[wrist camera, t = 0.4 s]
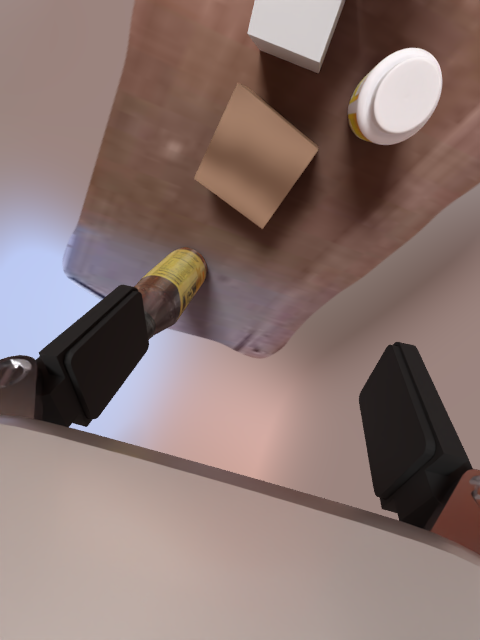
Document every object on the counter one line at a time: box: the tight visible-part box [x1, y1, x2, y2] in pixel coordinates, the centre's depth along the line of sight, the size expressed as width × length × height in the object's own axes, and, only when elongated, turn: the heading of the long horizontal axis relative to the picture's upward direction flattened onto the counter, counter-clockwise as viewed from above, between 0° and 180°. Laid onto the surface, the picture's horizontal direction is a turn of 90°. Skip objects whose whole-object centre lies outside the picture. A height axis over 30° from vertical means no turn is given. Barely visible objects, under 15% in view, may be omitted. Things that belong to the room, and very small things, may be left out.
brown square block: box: [194, 83, 319, 229], centre depth 29 cm, size 9×9×5 cm
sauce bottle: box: [134, 247, 207, 340], centre depth 33 cm, size 6×6×20 cm
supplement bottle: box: [348, 48, 442, 145], centre depth 22 cm, size 6×6×10 cm
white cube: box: [248, 0, 345, 74], centre depth 21 cm, size 6×6×6 cm
